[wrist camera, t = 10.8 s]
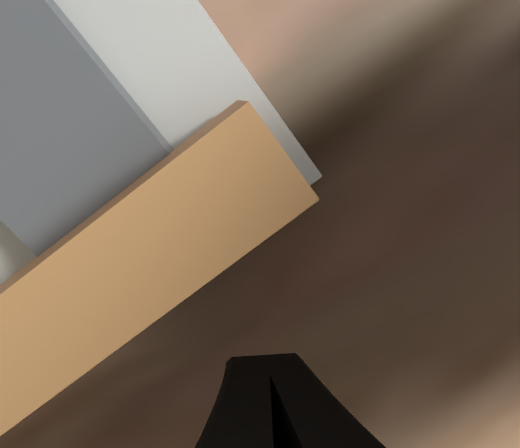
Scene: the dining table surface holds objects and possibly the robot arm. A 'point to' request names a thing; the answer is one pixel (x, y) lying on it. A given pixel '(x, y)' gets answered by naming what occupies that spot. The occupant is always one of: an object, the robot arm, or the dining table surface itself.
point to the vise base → (166, 78)
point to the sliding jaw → (112, 205)
